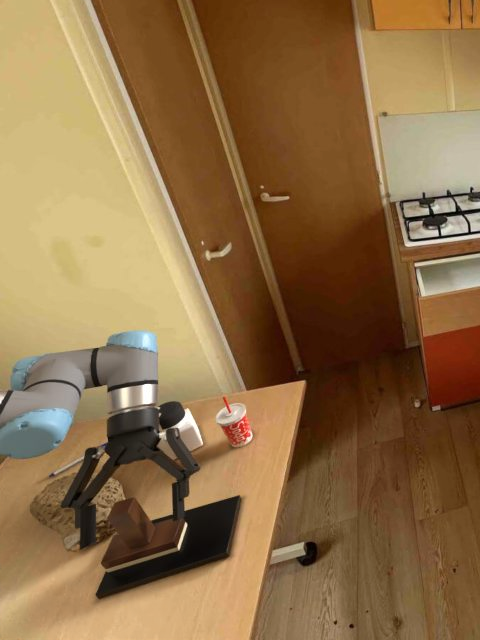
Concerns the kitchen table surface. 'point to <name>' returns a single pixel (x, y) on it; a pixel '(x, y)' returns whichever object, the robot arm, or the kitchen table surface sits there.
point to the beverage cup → (234, 424)
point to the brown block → (139, 536)
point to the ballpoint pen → (71, 464)
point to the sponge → (63, 519)
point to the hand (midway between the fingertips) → (134, 532)
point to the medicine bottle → (178, 426)
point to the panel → (182, 548)
